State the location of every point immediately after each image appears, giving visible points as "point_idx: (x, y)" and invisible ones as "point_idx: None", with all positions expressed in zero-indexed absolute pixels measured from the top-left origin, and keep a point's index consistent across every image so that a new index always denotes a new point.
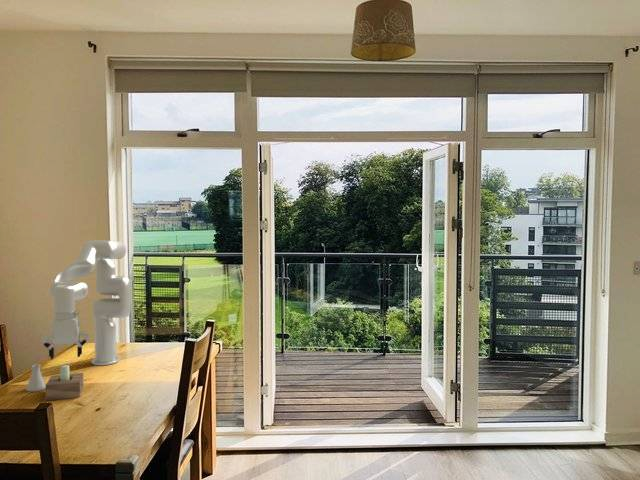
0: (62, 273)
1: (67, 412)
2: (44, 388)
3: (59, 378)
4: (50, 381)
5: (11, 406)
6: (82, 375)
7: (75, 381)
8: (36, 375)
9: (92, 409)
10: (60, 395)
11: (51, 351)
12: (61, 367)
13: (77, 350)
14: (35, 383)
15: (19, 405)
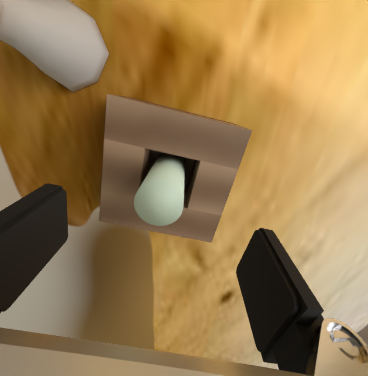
0: None
1: (167, 286)
2: (101, 71)
3: (146, 147)
4: (112, 186)
5: None
6: (239, 164)
7: (199, 230)
8: (28, 53)
9: (215, 293)
10: None
11: (5, 299)
12: (142, 214)
13: (250, 324)
14: (53, 76)
15: None
